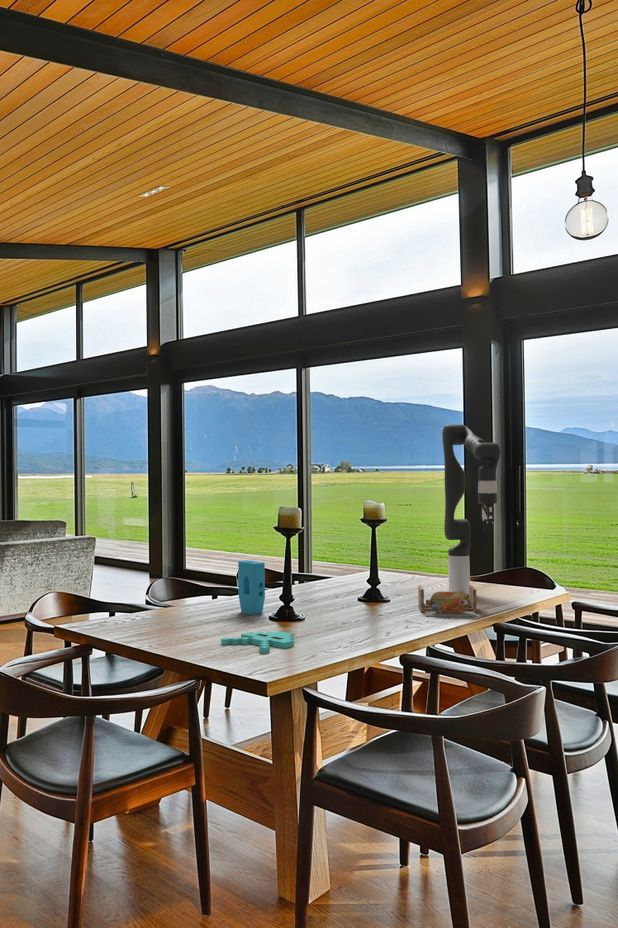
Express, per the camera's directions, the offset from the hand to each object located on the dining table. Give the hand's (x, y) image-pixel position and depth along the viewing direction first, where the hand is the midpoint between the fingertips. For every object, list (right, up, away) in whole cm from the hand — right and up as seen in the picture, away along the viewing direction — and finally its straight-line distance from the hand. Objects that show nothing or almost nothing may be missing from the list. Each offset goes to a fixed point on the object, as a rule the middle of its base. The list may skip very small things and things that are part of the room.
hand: (487, 531), depth 317 cm
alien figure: (-87, -32, -63) cm, 112 cm away
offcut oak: (-23, -29, -5) cm, 37 cm away
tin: (-19, -30, -18) cm, 40 cm away
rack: (-18, -30, -9) cm, 36 cm away
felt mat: (-19, -30, -19) cm, 40 cm away
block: (-95, -31, -10) cm, 101 cm away
